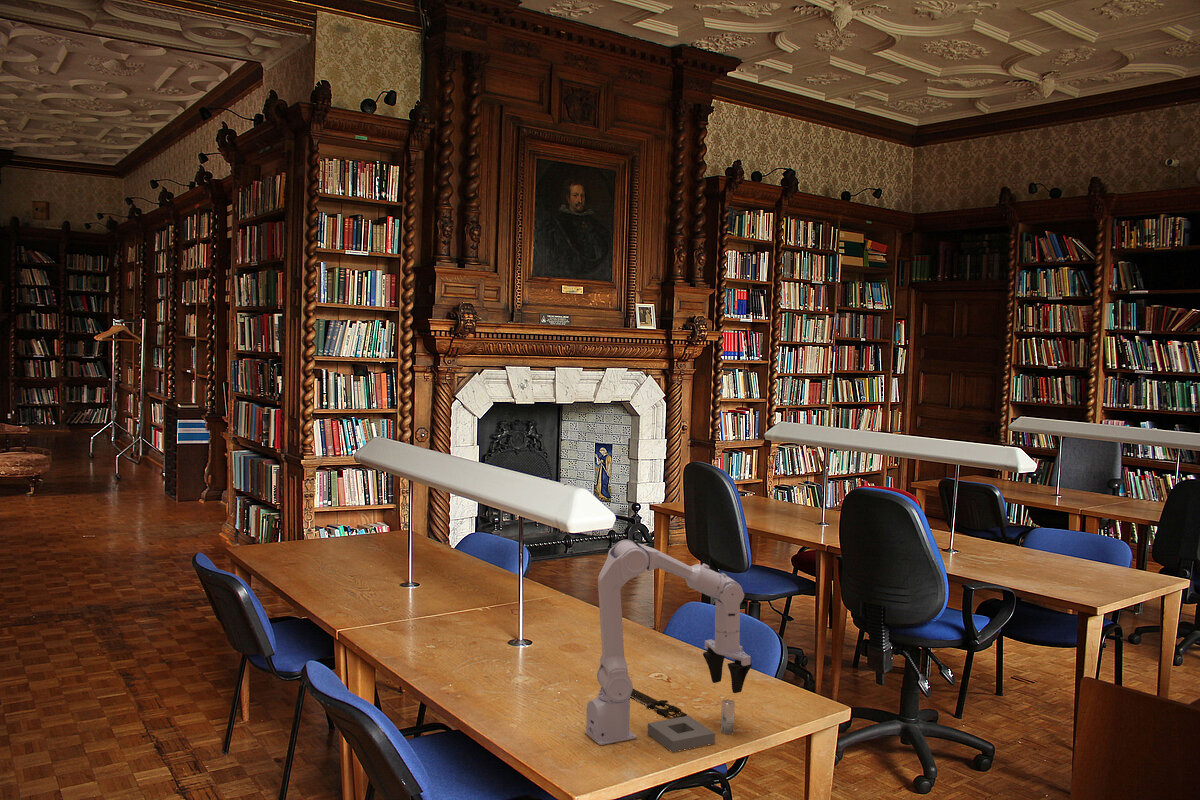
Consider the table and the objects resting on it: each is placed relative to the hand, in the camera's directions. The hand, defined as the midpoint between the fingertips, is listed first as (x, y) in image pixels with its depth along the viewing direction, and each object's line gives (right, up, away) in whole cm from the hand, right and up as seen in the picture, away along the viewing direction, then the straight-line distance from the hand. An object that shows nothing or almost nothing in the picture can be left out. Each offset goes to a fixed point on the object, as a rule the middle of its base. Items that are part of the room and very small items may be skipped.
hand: (726, 687), depth 216 cm
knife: (-18, -9, +15) cm, 25 cm away
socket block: (-11, -10, -7) cm, 16 cm away
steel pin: (0, -10, -2) cm, 10 cm away
